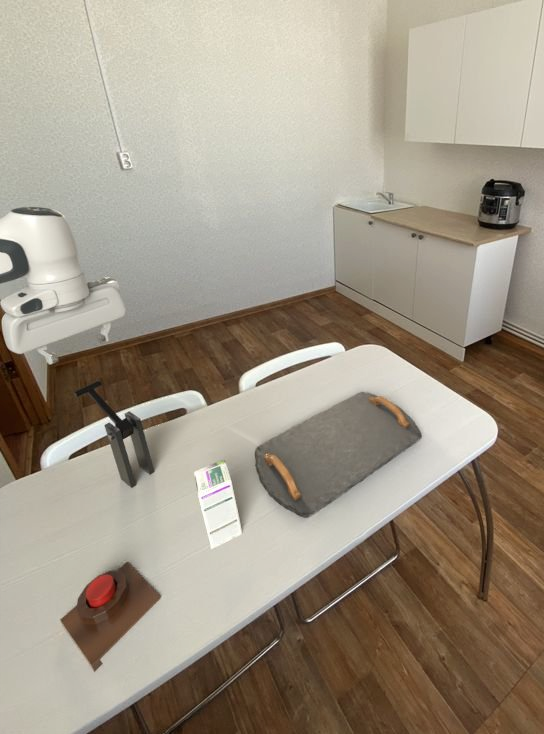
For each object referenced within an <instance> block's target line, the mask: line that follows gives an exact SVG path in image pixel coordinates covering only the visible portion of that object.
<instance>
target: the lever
mask: <svg viewBox="0 0 544 734" xmlns="http://www.w3.org/2000/svg"><path fill="white" fill-rule="evenodd" d="M101 387H103V383H102V381H101V380H100V379H98V380H95V381H93V382H91V383H88V385H85V386H83V387H81V388H78V389H77V390H74V391H73V396H75V398H77V399H78V398H80V397H81V396H84V395H86V394H87V395H88V396H89V398H91V399H92V400H93V402H95V404H96V405H97V406H98V407H99V409H101V410H102V412H103V413H104V414H105V415H106V416H107V417H108V418H109V420H111V422H112V423H113V425H114V426H115V427H116V428H118V429H119V430H120V431H121V434H122V438H123V440H125V439H127V438H128V437H131V435H132V434H133V433H134V428H133V425H132V424H131V423H130V422H129V421H128V420H127V419H126V417H125V418H123V419H122V418H120V416H119V415H118V413H116V411H114V409H112V407H110V405H109V404H108V403H107V402H106V401H105V400H104V399H103V398H102V397H101V396H100V394H99V393H98V392H97V391H96V389H98V388H101Z"/></svg>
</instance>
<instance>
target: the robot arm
mask: <svg viewBox="0 0 544 734" xmlns="http://www.w3.org/2000/svg"><path fill="white" fill-rule="evenodd" d="M21 278H23V279H25V280H26V282H27V285H26V286H25V287H22V288H21V289H19V290H18V291H17V290H16V292H14V293H12V294H9V295H8V296H6V297H4V298H2V299H1V300H0V307H1V309H2V310H3V311H4V312H5V313H4V315H3V316H2V318H1V330H2V335H3V340H4V343H5V346H6V347H7V349H8V350H9V351H11V352H12V353H15V354H17V355H22V354H25V353H28V352H31V351H33V350H34V351H36V352H37V353H39V354H40V355H42V356H44V358H45V361H46V363H47V364H48V365H53V364H56V363H58V362H59V361H60V360H59V357H58V354H57V353H55V352H54V351H51V352H49V353H48V352H47V350H48V346H47V345H50V344H52V343H55V342H57V341H60V340H63V339H66V338H69V337H71V336H75V335H77V334H79V333H82V332H85V331H88V330H91V329H93V328H96V327H99V326H100V327H101V329H100V333H99V334H96V339H97V342H98V343H99V344H101V345H103V344H105V343H107V342H109V341H110V339H109V335H108V334H109V332H110V330H111V327H112V324H111V322H113V321H115V320H118V319H122V318H123V317H125V315H126V312H127V309H126V305H125V303H124V300H123V297H122V296H121V294H120V291H121V288H120V284H119V282H118V280H116V279H115V278H110V277H104V278H101V279H97V280H93V281H90V282H88V281H87V277H86V274H85V271H84V268H83V266H81V263H80V261H79V248H78V245H77V243H76V239H75V236H74V233H73V231H72V228H71V226H70V224H69V222H68V220H67V218H66V217H65V216H64V214H62V213H61V212H59V211H58V210H55V209H53V208H52V209H51V208H48V207H41V206H28V207H25V206H24V207H23V206H22V207H16V208H13V209H11V210H9V212H8V213H7V214H6V215H4V216H3V217H1V218H0V285H1V284H4V283H7V282H12V281H16V280H18V279H21Z"/></svg>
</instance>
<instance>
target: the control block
mask: <svg viewBox="0 0 544 734" xmlns="http://www.w3.org/2000/svg"><path fill="white" fill-rule="evenodd" d="M103 575H110V576H112V577H113V580H114V583H115V585H116V590H115V593H114V595H113V596H112V597H111V599H110V600H109V601H108V602H106V603H105V604H104V605H102V606H99V607H92V606H90V605H89V602H88V600H87V597H86V591H87V589H88V587H89V585H90V584H91V583H92V582H93V581H94V580H95V579H97V578H98V577H100V576H103ZM160 600H161V596H160V595H159V593H157V592H156V590H155V589H153V588H152V586H151V585H150V584H149V583H148V582H147V581H146V579H144V578H143V577H142V576H141V574H139V573H138V572H137V571H136V570H135V568H134V567H133V566H132V565H131V564H130V563H129V562H128V561H126V562H125V563H124V564H123V565H122V566H120V567H119V568H118V569H117V570H108V571H106V572H103V573H101V574H98V575H97V576H96V577H95V578H93V579H92V580H91V581H89V583H88V584H86V585H85V587H84V588H83V590H82V591H81V593H80V594H79V596H78V598H77V602H76V605H75V606H74V607H73V608H72V609H71V610H69V611H68V612H67V613H66V614H65V615H63V617H61V618H60V619H59V621H60V623H61V626H62V627H63V629H64V630H65V631H66V633H67V635H68V637H70V639H71V641H72V643H74V645H75V646H76V648H77V649H78V651H79V652H80V654H81V655H82V657H83V658H84V659H85V661H86V663H88V665H89V667H90V668H91V669H92V671H93V672H94V673H95V672H96V671H97V670H98V669H99V668H101V666H103V661H102V660H101V659H103V657H105V655H107V654H108V653H109V651H111V649H112V648H113V647H114V646H116V644H117V643H118V642H119V641H120V640H121V639H122V638H123V637H125V635H126V634H127V633H128V632H129V631H130V630H131V629H133V627H134V626H136V624H137V623H138V622H139V621H140V620H141V619H142V618H143V617H144V616H145V615H146V614H147V613H148V611H150V610H151V609H152V608H153V607H154V606H155V605H156V604H157V603H158V602H159V601H160Z"/></svg>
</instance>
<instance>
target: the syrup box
mask: <svg viewBox="0 0 544 734" xmlns="http://www.w3.org/2000/svg"><path fill="white" fill-rule="evenodd" d="M193 475H194V483H195V489H196V493H197V497H198V502H199V504H200V505H199V506H200V509H201V514H202V518H203V523H204V526H205V531H206V535H207V539H208V542H209V547H210V549H211V550H212V549H214V548H217V547H220V546H221V545H223V544H225V543H227V542H229V541H231V540H233V539H236V538H237V537H239V536H242V534H243V529H242V524H241V519H240V514H239V509H238V505H237V503H238V502H237V499H236V495H235V490H234V485H233V482H232V478H231V474H230V471H229V468H228V464H227V460H226V459H222V460H219V461H216V462H214V463H211V464H209V465H206V466H204V467H202V468H200V469H198V470H195V471H193Z"/></svg>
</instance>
